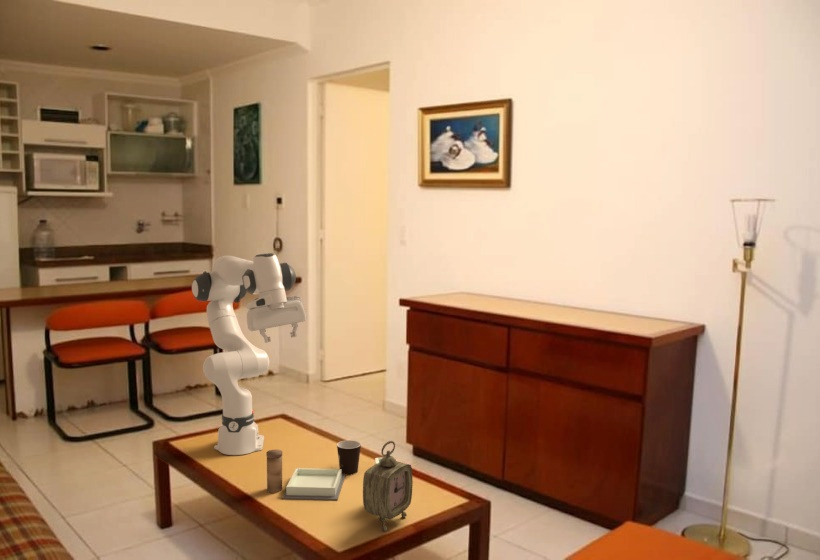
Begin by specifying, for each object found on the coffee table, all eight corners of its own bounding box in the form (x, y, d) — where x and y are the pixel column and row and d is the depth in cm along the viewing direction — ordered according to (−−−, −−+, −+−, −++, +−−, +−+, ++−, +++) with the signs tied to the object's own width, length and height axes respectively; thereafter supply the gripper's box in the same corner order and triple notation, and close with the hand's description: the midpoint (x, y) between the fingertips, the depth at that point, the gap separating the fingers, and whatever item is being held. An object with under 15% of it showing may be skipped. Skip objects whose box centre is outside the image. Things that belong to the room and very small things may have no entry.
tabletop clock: (385, 535, 195) (386, 451, 192) (360, 527, 200) (360, 445, 197) (412, 516, 207) (413, 437, 204) (387, 509, 212) (388, 432, 209)
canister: (268, 486, 228) (268, 449, 227) (284, 486, 228) (283, 449, 227) (265, 492, 223) (264, 454, 222) (280, 493, 223) (280, 455, 221)
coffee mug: (357, 476, 237) (357, 449, 236) (333, 474, 239) (333, 447, 238) (365, 464, 248) (365, 438, 247) (343, 462, 250) (343, 436, 249)
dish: (296, 475, 236) (296, 468, 236) (341, 476, 236) (341, 469, 235) (286, 495, 220) (286, 486, 220) (335, 496, 220) (335, 487, 219)
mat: (294, 474, 238) (294, 473, 238) (345, 476, 238) (345, 474, 238) (281, 499, 218) (281, 497, 218) (337, 500, 218) (337, 498, 218)
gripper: (297, 296, 237) (305, 334, 237) (241, 305, 226) (249, 346, 225) (304, 293, 232) (312, 333, 231) (248, 303, 221) (256, 344, 220)
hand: (281, 339), depth 228 cm, fingers open, 8 cm apart
